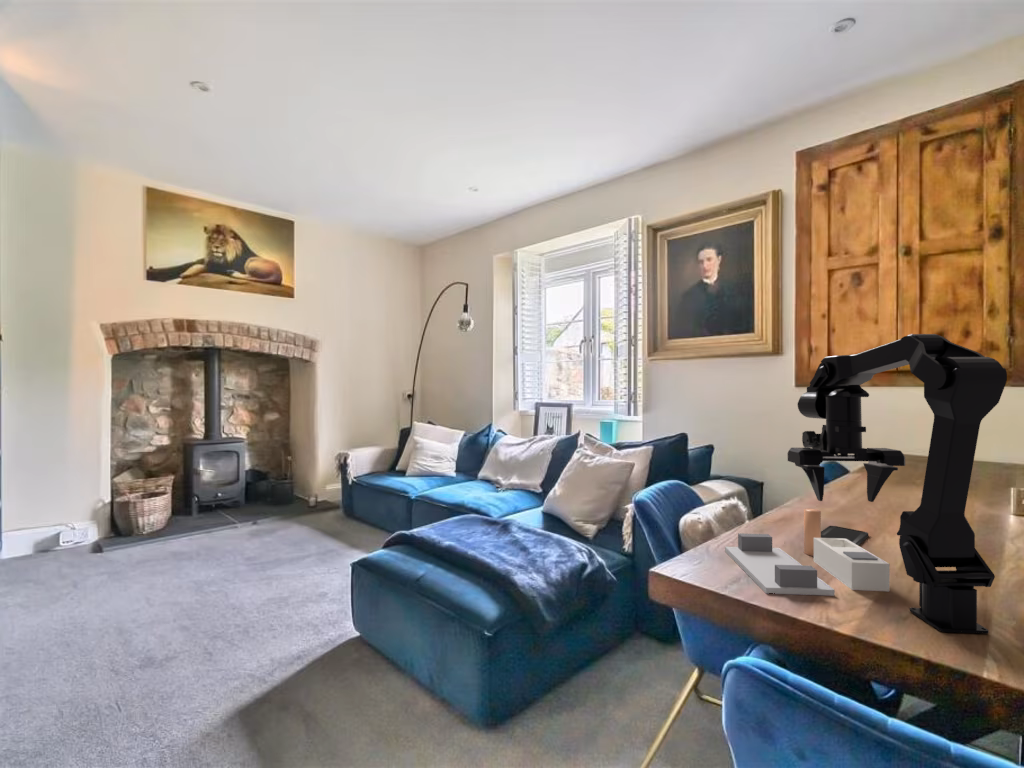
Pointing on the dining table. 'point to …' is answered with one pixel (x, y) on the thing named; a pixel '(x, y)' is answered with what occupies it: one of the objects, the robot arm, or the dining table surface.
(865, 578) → the white socket block
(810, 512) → the orange-brown tapered capsule
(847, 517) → the dining table surface
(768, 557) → the board
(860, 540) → the phone
